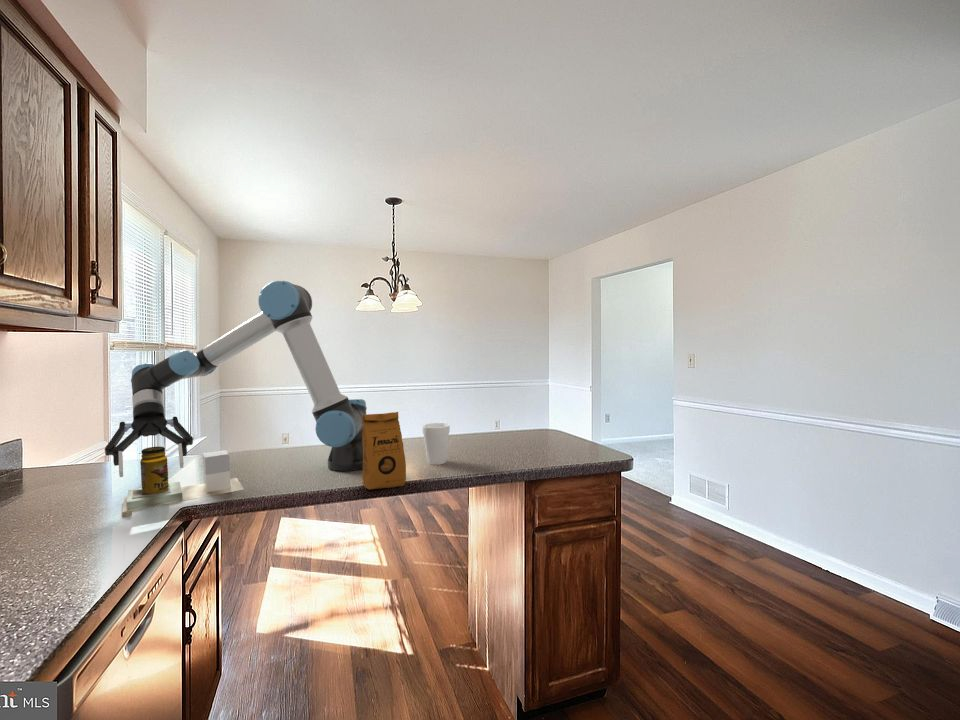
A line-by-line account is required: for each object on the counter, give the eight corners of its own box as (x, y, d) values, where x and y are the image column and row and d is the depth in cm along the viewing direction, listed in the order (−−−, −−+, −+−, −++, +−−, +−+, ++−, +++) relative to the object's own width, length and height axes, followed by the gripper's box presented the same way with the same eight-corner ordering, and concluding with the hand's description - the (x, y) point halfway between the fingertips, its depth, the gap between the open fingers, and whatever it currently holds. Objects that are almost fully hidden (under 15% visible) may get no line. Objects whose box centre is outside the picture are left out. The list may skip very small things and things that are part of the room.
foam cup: (419, 464, 161) (418, 427, 161) (428, 458, 170) (427, 422, 170) (445, 466, 159) (444, 428, 158) (453, 459, 168) (452, 423, 167)
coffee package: (408, 488, 137) (406, 413, 136) (364, 493, 133) (362, 417, 132) (402, 478, 146) (400, 408, 145) (361, 483, 142) (359, 411, 141)
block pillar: (227, 482, 141) (226, 450, 141) (230, 487, 136) (228, 454, 136) (204, 486, 138) (202, 453, 137) (206, 492, 133) (205, 457, 132)
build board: (236, 481, 146) (236, 471, 146) (244, 493, 135) (244, 482, 135) (124, 501, 130) (123, 490, 130) (122, 516, 119) (121, 504, 119)
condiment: (170, 492, 127) (168, 448, 126) (131, 499, 122) (129, 453, 122) (170, 485, 133) (167, 443, 133) (133, 491, 128) (130, 448, 128)
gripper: (196, 411, 149) (204, 468, 137) (95, 421, 134) (94, 486, 123) (197, 396, 144) (205, 454, 133) (92, 404, 130) (91, 470, 118)
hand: (152, 469), depth 128 cm, fingers open, 13 cm apart
